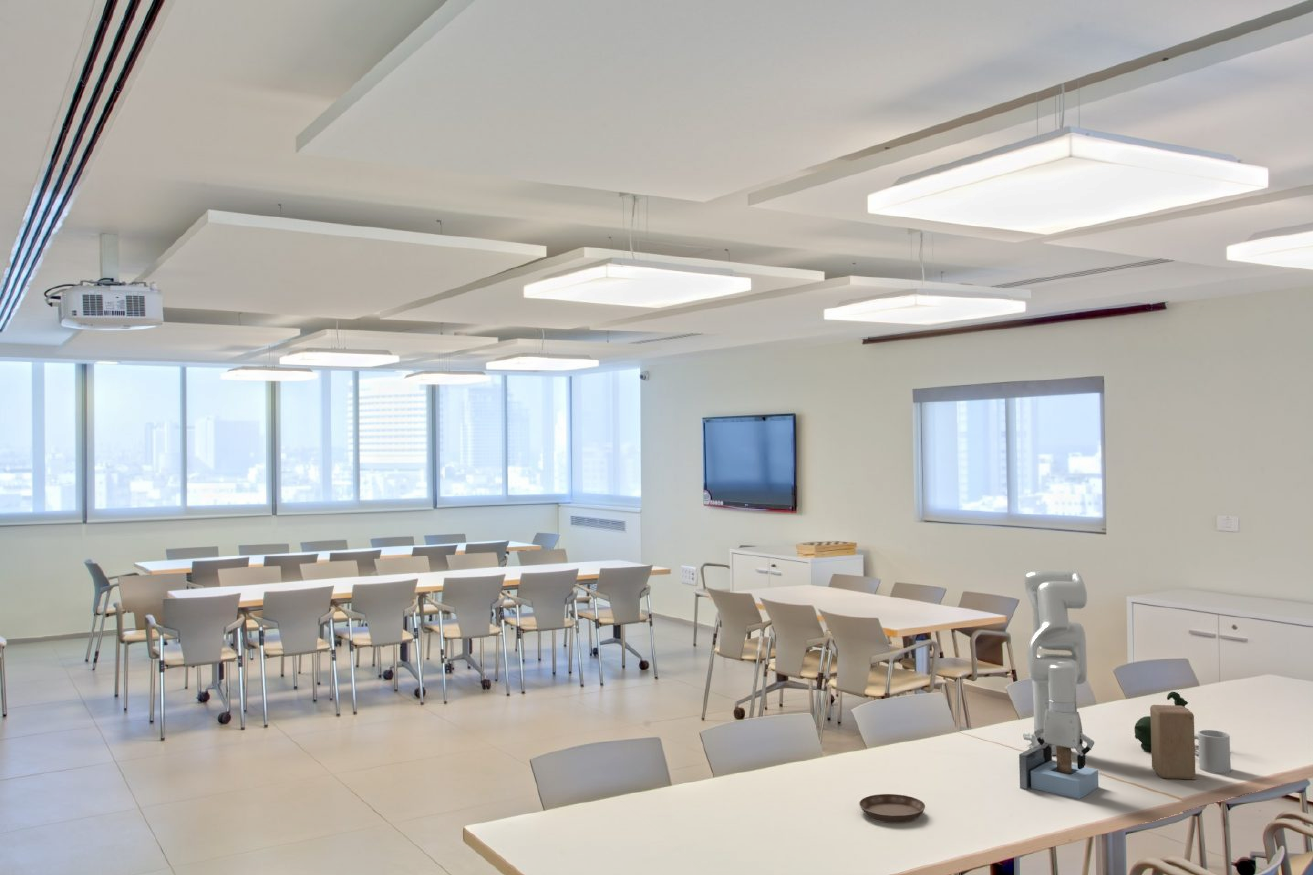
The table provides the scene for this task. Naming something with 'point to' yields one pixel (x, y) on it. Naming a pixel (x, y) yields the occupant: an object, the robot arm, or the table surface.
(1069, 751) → the dowel
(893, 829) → the table surface
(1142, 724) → the toy figurine
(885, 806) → the plant saucer
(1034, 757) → the backstop wall
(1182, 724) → the wooden block
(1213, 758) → the mug
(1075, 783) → the socket block
